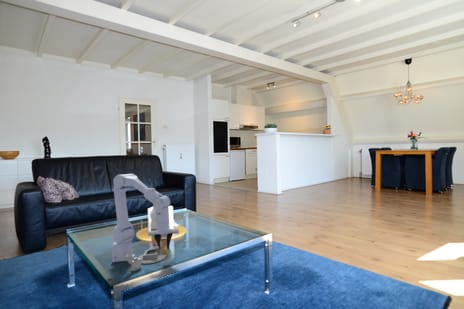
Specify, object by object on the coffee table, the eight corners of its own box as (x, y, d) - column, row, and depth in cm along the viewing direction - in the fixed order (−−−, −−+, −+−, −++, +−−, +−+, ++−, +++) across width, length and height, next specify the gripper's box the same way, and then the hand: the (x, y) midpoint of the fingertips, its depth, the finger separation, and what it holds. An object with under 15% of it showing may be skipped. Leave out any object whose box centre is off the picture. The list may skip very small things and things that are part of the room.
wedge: (160, 255, 132) (160, 240, 132) (162, 251, 137) (161, 237, 137) (167, 254, 132) (166, 240, 132) (168, 251, 137) (167, 237, 137)
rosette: (134, 265, 135) (133, 258, 135) (140, 255, 149) (140, 248, 149) (163, 262, 136) (163, 255, 136) (167, 252, 150) (166, 246, 150)
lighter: (138, 267, 132) (137, 250, 132) (141, 267, 131) (140, 250, 131) (125, 272, 126) (124, 255, 126) (127, 273, 125) (126, 255, 125)
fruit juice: (148, 249, 158) (145, 200, 158) (161, 244, 166) (158, 197, 166) (159, 251, 153) (156, 200, 153) (172, 246, 161) (169, 198, 161)
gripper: (145, 224, 130) (147, 253, 130) (177, 222, 131) (179, 250, 131) (148, 221, 137) (150, 249, 137) (178, 218, 138) (180, 246, 138)
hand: (164, 249), depth 134 cm, fingers closed on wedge, 3 cm apart
